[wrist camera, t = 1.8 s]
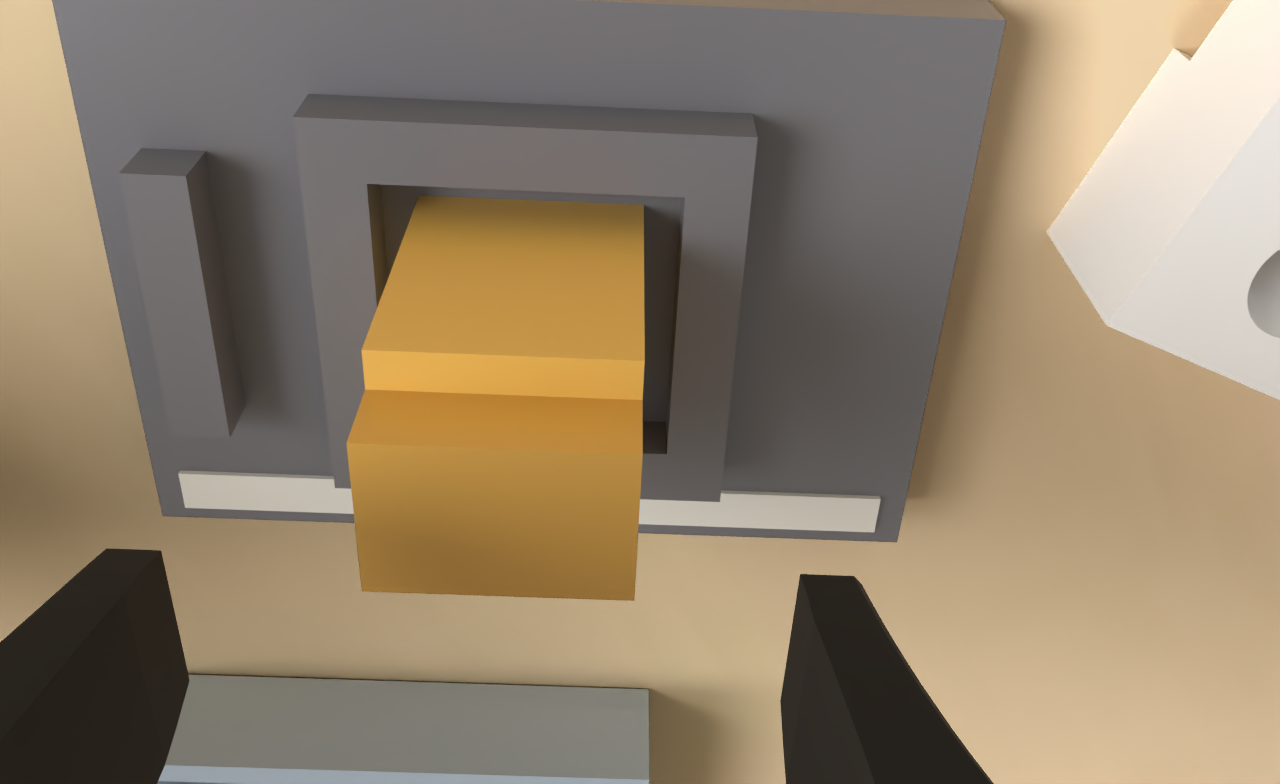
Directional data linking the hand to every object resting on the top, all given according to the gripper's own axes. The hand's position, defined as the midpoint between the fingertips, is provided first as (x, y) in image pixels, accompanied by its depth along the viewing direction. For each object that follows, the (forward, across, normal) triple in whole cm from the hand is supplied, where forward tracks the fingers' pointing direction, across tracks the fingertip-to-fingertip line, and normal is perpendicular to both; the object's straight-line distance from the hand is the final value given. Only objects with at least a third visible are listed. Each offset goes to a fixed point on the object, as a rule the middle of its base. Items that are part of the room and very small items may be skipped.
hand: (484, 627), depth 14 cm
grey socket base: (+9, 0, 0) cm, 9 cm away
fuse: (+8, 0, 0) cm, 8 cm away
